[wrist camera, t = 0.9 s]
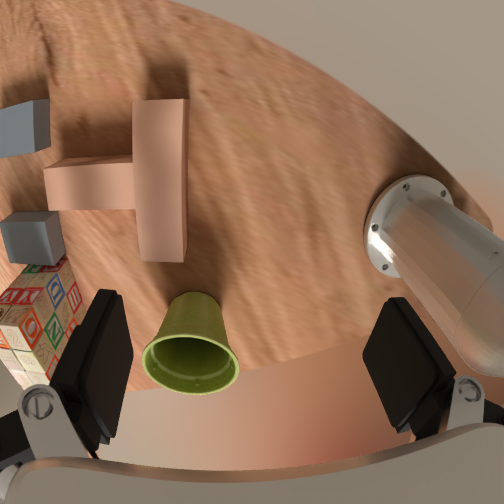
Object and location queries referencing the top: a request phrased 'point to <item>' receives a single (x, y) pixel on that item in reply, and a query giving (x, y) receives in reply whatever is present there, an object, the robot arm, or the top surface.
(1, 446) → the robot arm
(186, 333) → the plant pot
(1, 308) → the stack of blocks
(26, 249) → the t dock
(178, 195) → the t block
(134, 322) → the top surface
